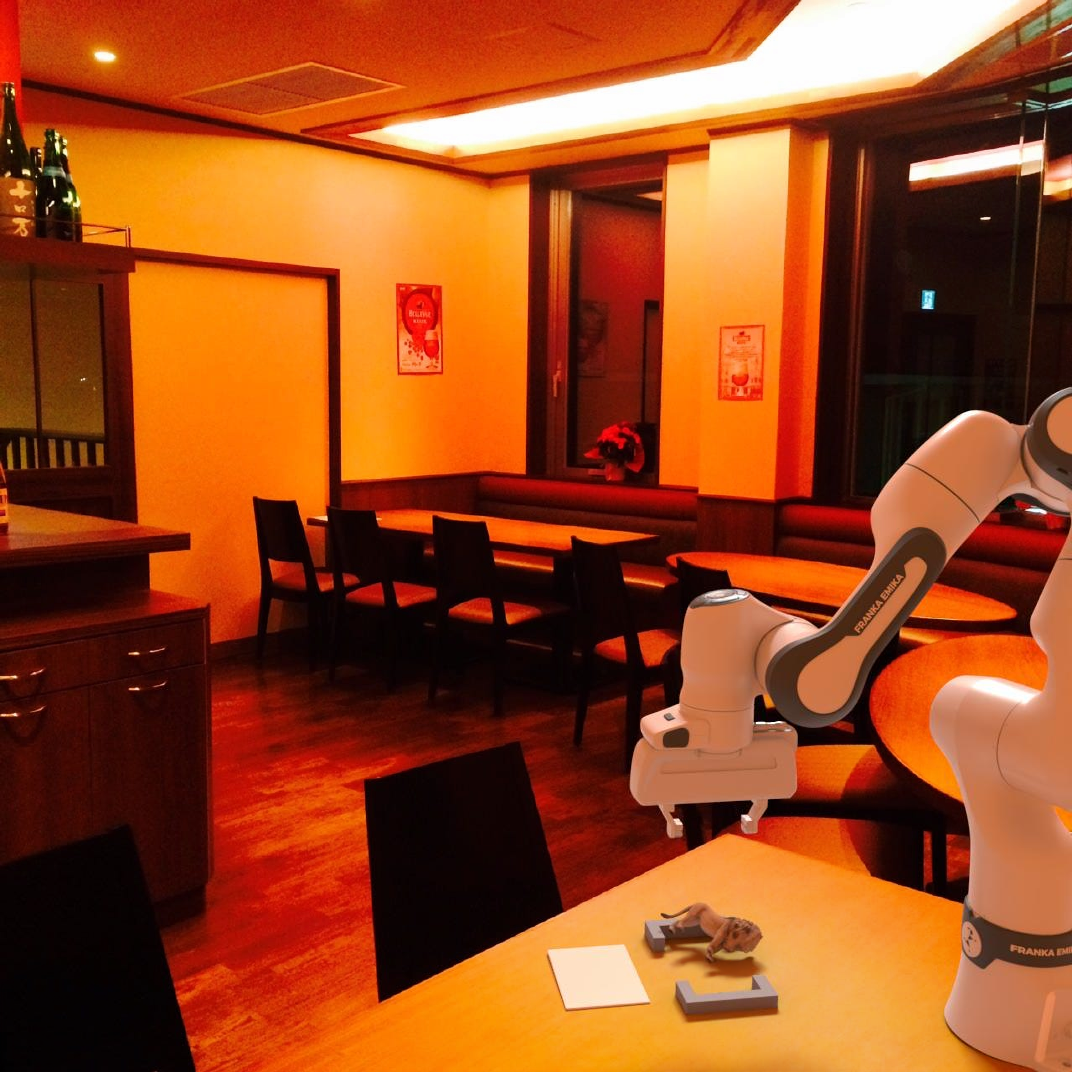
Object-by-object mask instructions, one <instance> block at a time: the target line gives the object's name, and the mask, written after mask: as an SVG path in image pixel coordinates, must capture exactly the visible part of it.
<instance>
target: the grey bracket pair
mask: <svg viewBox="0 0 1072 1072" xmlns="http://www.w3.org/2000/svg"><path fill="white" fill-rule="evenodd" d="M721 916H722V917H725V918H727V916H726V915H721ZM683 918H684V917H682V918H670V919H666V918H665V919H656V920H655V919H654V920H645V921H644V937H645V938H646V941H647V942H648V944H649V946H650V948H651V950H652V952H653V953H656V952H665V951H666V950H665V949H666V940H671V939H683V938H684V939H685V938H697V937H710V936H709V935H708V934H706V933H705V932H704V931H703V930H702V928H701V926H700V924H699V925H696V926H693V927H684V932H681V931H680V930H679V929H678V927H676V928H675V930H676V933H675V934H671V933H670V931H669V927H670V925H671V924H673V923H674V922H676V921H677V920H681V919H683ZM751 978H752V979H751V989H749V990H748V989H747V990H737V991H725V992H724V991H723V992H711V993H700V994H699V993H698V994H696V993H695V991H694V989H693V987H692V986H691V983H690V981H689V980H677V981H675V992H674V993H675V995H676V998H677V999H678V1002H679V1004H680V1006H681V1007H682V1010H683V1012H684V1013H685V1015H686V1016H691V1015H703V1014H714V1013H715V1014H716V1013H723V1012H725V1013H726V1012H737V1011H747V1010H748V1011H750V1010H751V1011H752V1010H761V1009H772V1008H773V1009H774V1008H778V1007H779V994H778V993H777V991H776V990H775V988H774V987H773V985H772V984H771V982H770V981H769V979H768V978H767V977H766V975H765V974H754V975H752V976H751Z"/></svg>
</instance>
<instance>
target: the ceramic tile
mask: <svg viewBox="0 0 1072 1072" xmlns="http://www.w3.org/2000/svg"><path fill="white" fill-rule="evenodd" d="M547 956H548V959H549V962H550V965H551V968H552V971H553V975H554V978H555V981H556V984H557V986H558V990H559V992H560V995H561V996H560V997H561V999H562V1002H563V1006H564V1008H565V1011H575V1010H577V1011H578V1010H585V1009H596V1008H610V1007H622V1006H632V1005H633V1006H635V1005H645V1004H651V1001H650V999H649V996H648V994H647V992H646V990H645V987H644V985H643V984H642V980H641V978H640V976H639V975H638V972H637V969H636V967H635V965H634V963H633V960H632V958H631V957H630V954H629V952H628V949H627V948H626V946H625V944H611V945H595V946H584V947H583V946H581V947H570V948H569V947H568V948H557V949H555V948H553V949H547Z"/></svg>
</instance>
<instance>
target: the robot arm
mask: <svg viewBox="0 0 1072 1072" xmlns="http://www.w3.org/2000/svg"><path fill="white" fill-rule="evenodd" d="M1007 497H1011V498H1013V500H1016V501H1018V502H1021V503H1023V504H1026V505H1030V506H1033V507H1035V508H1038V509H1040V510H1042V511H1044V512H1047V513H1050V514H1053V515H1056V516H1061V517H1066V518H1067V517H1068V518H1070V520H1071V521H1070V522H1071V523H1070V528H1069V532H1068V535H1067V537H1066V540H1065V542H1064V544H1063V546H1062V549H1061V551H1060V553H1059V555H1058V557H1057V559H1056V561H1055V563H1054V566H1053V568H1052V570H1051V572H1050V574H1049V577H1048V579H1047V581H1046V583H1045V585H1044V588H1043V589H1042V592H1041V594H1040V596H1039V599H1038V601H1037V602H1036V603H1037V604H1036V606H1035V608H1034V610H1033V612H1032V614H1031V617H1030V621H1029V626H1030V632H1031V636H1032V637H1033V639H1034V641H1035V643H1036V644H1037V646H1038V647H1039V648H1040V649H1041V650H1042V651H1043V653H1044V654H1045V655H1046V659H1047V676H1046V679H1045V680H1046V681H1045V684H1044V687H1043V689H1042V690H1039V689H1036V688H1033V687H1030V686H1027V685H1025V684H1022V683H1017V682H1015V681H1011V680H1008V679H1005V678H1003V677H1002V678H1001V677H994V676H985V675H982V676H981V675H967V674H966V675H960V676H956V677H954V678H952V679H951V680H949V681H948V682H946V684H944V685H943V686H942V688H940V689H939V690H938V692H937V694H936V695H935V697H934V698H933V701H932V703H931V707H930V710H929V720H928V721H929V730H930V734H931V736H932V739H933V741H934V743H935V744H936V745H937V747H938V748H939V749H940V751H941V752H942V754H943V755H944V756H945V758H946V760H947V761H948V763H949V765H950V767H951V770H952V771H953V774H954V776H955V779H956V781H957V785H958V787H959V790H960V794H961V796H962V801H963V805H964V807H965V811H966V817H967V820H968V821H967V822H968V827H969V836H970V858H969V859H970V861H969V864H970V865H969V882H968V893H967V895H965V897H964V900H963V907H962V908H963V909H962V915H961V916H962V918H961V929H960V930H961V931H960V933H961V935H960V937H961V956H960V961H959V964H958V965H959V966H958V970H957V973H956V978H955V981H954V984H953V987H952V990H951V992H950V994H949V997H948V1000H947V1002H946V1003H945V1007H944V1009H943V1015H944V1018H945V1022H946V1024H947V1025H948V1027H949V1028H950V1029H951V1031H952V1032H953V1033H954V1034H955V1035H956V1036H957V1037H958V1038H959V1039H961V1040H962V1041H964V1043H966V1044H967V1045H969V1046H970V1047H972V1048H973V1049H976V1050H978V1051H980V1052H981V1053H983V1054H986V1055H987V1056H989V1057H992V1058H996V1059H998V1060H1000V1061H1003V1062H1006V1063H1010V1064H1015V1065H1018V1066H1022V1067H1024V1068H1025V1067H1026V1068H1028V1069H1032V1070H1033V1071H1036V1072H1072V833H1071V832H1070V831H1069V829H1068V828H1067V827H1066V826H1065V825H1064V823H1063V822H1062V820H1061V818H1060V817H1059V814H1058V813H1057V811H1056V809H1055V807H1057V808H1060V809H1061V810H1064V811H1067V812H1070V813H1072V386H1071V387H1067V388H1064V389H1061V390H1059V391H1057V392H1055V393H1053V394H1051V395H1050V396H1049V397H1047V398H1046V399H1044V401H1043V402H1042V403H1041V404H1040V405H1039V406H1038V407H1037V408H1036V410H1035V411H1034V412H1033V414H1032V416H1031V417H1030V420H1029V421H1028V424H1024V425H1018V424H1015V423H1010V422H1009V421H1008V420H1006V419H1005V418H1003V417H1002V416H999V415H998V414H995V413H992V412H989V411H986V410H977V409H975V410H969V411H966V412H963V413H961V414H959V415H957V416H956V417H955V418H953V419H952V420H950V421H949V422H948V423H946V424H945V425H944V426H943V427H941V428H940V429H939V430H938V431H936V432H935V433H934V434H933V435H932V436H931V437H929V439H927V440H926V441H925V442H924V443H923V444H921V446H920V447H919V448H918V449H916V451H915V452H913V454H911V456H910V457H908V459H907V460H906V461H905V462H904V463H903V465H901V466H900V467H899V468H898V469H897V471H896V472H895V473H894V474H893V475H892V477H891V478H890V479H889V480H888V481H887V482H886V484H885V485H884V487H883V488H882V490H881V491H880V493H879V494H878V497H877V498H876V500H875V501H874V503H873V506H872V507H871V510H870V525H871V526H870V527H871V531H872V534H873V538H874V543H875V549H874V550H875V552H874V553H875V554H874V559H873V561H872V564H871V566H870V567H869V568H870V569H869V570H868V572H867V573H866V575H865V576H864V578H863V579H862V580H861V582H860V583H859V584H858V585H857V586H856V587H855V589H854V590H853V591H852V593H851V594H850V595H849V596H848V598H847V599H846V600H845V601H844V603H843V604H842V605H841V607H840V608H839V609H838V610H837V611H836V612H835V614H834V615H833V616H832V618H831V619H830V620H829V621H828V622H827V623H826V624H825V625H824V626H822V627H820V628H818V627H817V626H815V625H814V624H812V623H811V621H810V622H809V621H808V620H806V619H805V618H801V617H797V616H796V615H795V616H794V615H791V614H788V613H785V612H782V611H779V610H777V609H775V608H773V607H771V606H769V605H767V604H765V603H764V602H762V601H760V600H759V599H757V598H756V597H754V595H752V594H751V593H750V592H749V591H747V590H743V589H739V588H738V589H736V588H735V589H729V588H727V589H717V590H713V591H708V592H705V593H702V594H701V595H699V596H697V597H695V598H694V599H693V600H691V602H690V604H689V605H688V607H687V610H686V611H685V612H686V613H685V616H684V620H683V621H684V622H683V625H682V626H683V628H682V636H681V649H680V668H681V671H682V677H683V682H682V687H681V689H680V694H679V703H678V704H675V705H672V706H670V707H667V708H665V709H662V710H660V711H657V712H654V713H651V714H648V715H645V716H644V717H642V718H641V719H640V727H639V728H640V731H641V733H642V734H641V735H642V736H643V737H642V738H640V739H639V741H637V743H636V745H635V746H634V751H633V755H632V760H631V769H630V778H629V779H630V780H629V789H630V792H631V795H632V797H633V798H634V799H635V800H636V802H638V804H639V805H641V806H658V807H659V809H660V812H662V814H663V817H664V818H665V820H666V833H667V836H668V838H670V839H675V838H682V837H683V829H684V826H683V825H684V824H683V823H682V821H681V820H680V819H679V818H673V816H672V815H671V813H674V812H675V805H680V804H681V805H683V804H700V803H701V804H702V803H715V802H716V803H720V802H736V801H737V802H738V801H751V802H752V803H753V804H752V806H751V807H750V809H749V811H748V813H747V814H741V816H740V818H741V819H740V820H741V823H740V828H741V830H742V832H743V833H744V834H746V835H747V834H756V833H758V826H759V825H758V823H759V820H760V819H761V817H762V816H763V814H764V813H765V812H766V810H767V808H768V803H769V801H768V800H771V799H772V800H774V799H776V800H777V799H791V797H793V795H794V794H795V793H796V791H797V788H798V775H797V773H798V771H797V764H796V763H797V762H796V755H795V753H796V752H797V750H798V733H797V730H796V729H795V728H794V727H793V726H792V725H790V724H788V723H787V722H786V721H775V722H765V721H757V722H755V721H754V715H755V714H754V713H755V711H754V710H755V705H754V704H755V698H756V697H757V696H761V695H762V696H765V695H768V696H769V699H770V701H771V702H772V704H773V705H774V707H775V708H776V711H778V713H779V714H780V715H781V716H782V717H783V718H785V719H786V720H787V721H789V722H790V723H792V724H794V725H796V726H800V727H805V728H823V727H827V726H831V725H832V724H835V723H837V722H838V721H841V720H842V719H843V718H845V717H846V716H847V715H849V713H850V712H851V711H853V709H854V707H855V705H856V704H857V703H858V702H859V701H858V700H859V699H860V697H861V695H862V692H863V690H864V687H865V684H866V681H867V678H868V676H869V673H870V672H871V669H872V667H873V665H874V664H875V662H876V660H877V659H878V658H879V656H880V655H881V653H882V652H883V651H884V650H885V648H887V646H888V644H889V643H890V642H891V641H892V639H893V638H894V637H895V635H896V634H897V633H898V632H899V630H900V629H901V628H902V626H903V625H904V623H905V622H906V621H907V620H908V619H909V618H910V616H911V615H912V614H913V612H914V611H915V610H916V608H917V607H918V606H919V604H920V603H921V602H922V600H923V599H924V598H925V597H926V595H927V594H928V592H929V591H930V590H931V588H932V587H933V586H934V584H935V583H936V581H937V580H938V578H939V576H940V574H941V573H942V572H943V570H944V568H945V566H946V565H947V563H948V561H950V559H951V557H953V555H954V554H955V552H957V550H958V549H959V548H960V547H961V546H962V545H963V543H964V542H965V541H966V540H967V539H968V538H969V537H970V536H971V534H972V533H974V531H975V529H977V527H978V526H979V525H980V524H981V523H982V522H983V521H984V520H985V519H986V517H987V516H988V515H989V514H990V513H991V512H992V511H993V510H994V509H995V508H996V507H997V506H998V505H999V504H1000V503H1001V502H1002V501H1003V500H1005V499H1006V498H1007Z"/></svg>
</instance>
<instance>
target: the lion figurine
mask: <svg viewBox="0 0 1072 1072" xmlns="http://www.w3.org/2000/svg"><path fill="white" fill-rule="evenodd" d="M683 914H686V915H685V916H684V917H682V918H683V919H681V918H680V919H681V920H677V921H676V922H674V923H673V924H671V925H670V927H669V931H670V933H671V934H675V933H676V930H675V928H676V927H678V929H679V930H680V931H681V932H684V927H693V926H696V925H699V924H700V926H701V928H702V930H703V931H704V932H705V933H706V934H708V935H709V936H708V937H711V938H713V939H712V940H711V942H710V943H709V944H708V945H707V948H706V954H705V957H706V958H705V959H706V960H707V961H708V962H710V963H713V962H714V961H715V960H714V958H713V956H714V955H715V954H717V953H718V952H720V951H722V950H723V949H726V950H727V951H728V952H731V953H732V952H734V951H737V952H741V953H744V954H748V953H749V952H753V951H755V949H756V948H757V946H758V944H759V943H760V942H761V940H762V939H763V938H764V936H763V935H762V931H761V929H760V927H759V926H758V925H757V924H755V923H754V922H752V921H750V920H747V919H745V918H743V919H741V918H740V917H735V916H727V917H726V918H725V917H722V916H723V915H720V914H718V912H715V910H713V909H712V907H710V906H709V905H708V904H707V903H705V902H695V903H693V904H691V905H688V906H687V907H685V908H684V909H682V910H680V911H678V912H676V913H675V914H667V913H665V912H664V913H663V912H661V913H660V916H661V917H662V918H663V919H665V920H666V919H676V918H677V917H679V916H681V915H683Z"/></svg>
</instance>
